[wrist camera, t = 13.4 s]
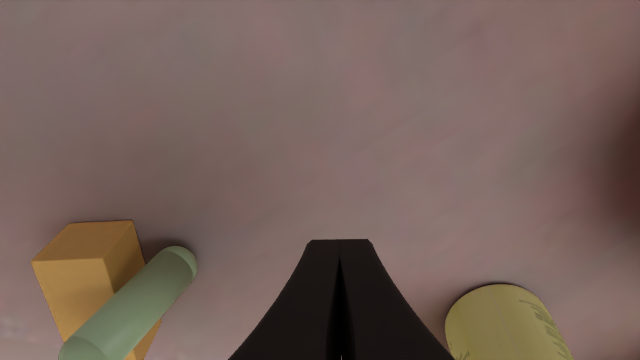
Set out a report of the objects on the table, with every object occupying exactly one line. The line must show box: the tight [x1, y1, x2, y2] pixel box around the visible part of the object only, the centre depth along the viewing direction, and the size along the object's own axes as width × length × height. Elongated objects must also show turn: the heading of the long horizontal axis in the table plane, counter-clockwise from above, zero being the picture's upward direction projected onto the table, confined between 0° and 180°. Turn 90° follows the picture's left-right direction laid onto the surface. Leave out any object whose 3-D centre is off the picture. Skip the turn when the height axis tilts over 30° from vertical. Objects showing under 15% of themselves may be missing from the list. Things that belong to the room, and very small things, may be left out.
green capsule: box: [58, 246, 197, 360], centre depth 19 cm, size 6×2×5 cm
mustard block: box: [31, 220, 162, 360], centre depth 21 cm, size 3×6×3 cm, turn 4°
